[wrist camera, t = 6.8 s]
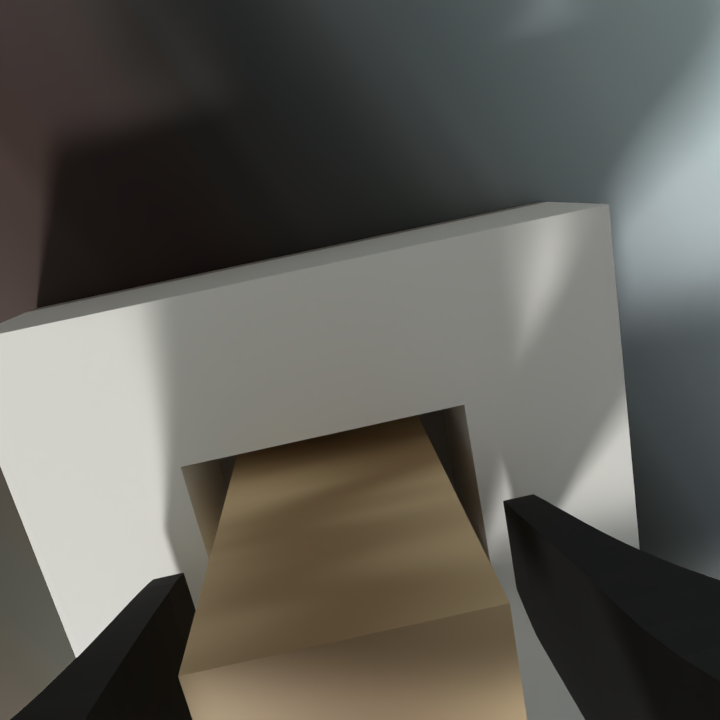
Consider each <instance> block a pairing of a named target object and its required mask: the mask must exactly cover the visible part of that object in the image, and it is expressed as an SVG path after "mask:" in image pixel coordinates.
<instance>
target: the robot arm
mask: <svg viewBox="0 0 720 720" xmlns="http://www.w3.org/2000/svg"><path fill="white" fill-rule="evenodd" d="M503 504H504V511H505V517H506V524H507V530H508V537H509V543H510V550H511V556H512V563H513V569H514V576H515V582H516V589H517V591H518V594H519V596H520V599H521V601H522V603H523V606H524V608H525V611H526V613H527V615H528V618H529V620H530V622H531V625H532V627H533V629H534V631H535V634H536V636H537V638H538V639H539V641H540V643H541V645H542V646H543V648H544V650H545V652H546V653H547V655H548V657H549V659H550V660H551V662H552V664H553V665H554V667H555V669H556V671H557V672H558V674H559V676H560V678H561V679H562V681H563V683H564V684H565V686H566V688H567V690H568V691H569V693H570V695H571V696H572V698H573V700H574V702H575V703H576V705H577V707H578V708H579V710H580V712H581V714H582V715H583V717H584V719H585V720H720V580H717V579H714V578H711V577H708V576H705V575H702V574H700V573H697V572H694V571H691V570H688V569H686V568H683V567H680V566H677V565H675V564H672V563H669V562H667V561H664V560H662V559H660V558H657V557H655V556H653V555H650V554H648V553H646V552H644V551H641V550H639V549H637V548H635V547H632V546H630V545H628V544H626V543H624V542H622V541H620V540H618V539H616V538H614V537H612V536H610V535H608V534H606V533H604V532H602V531H600V530H598V529H596V528H594V527H592V526H590V525H588V524H587V523H585V522H583V521H581V520H579V519H577V518H576V517H574V516H572V515H570V514H568V513H567V512H565V511H563V510H561V509H560V508H558V507H556V506H554V505H553V504H551V503H549V502H547V501H545V500H544V499H542V498H540V497H538V496H536V495H534V494H532V495H527V496H523V497H518V498H514V499H509V500H505V501H503ZM195 611H196V609H195V606H194V603H193V600H192V597H191V594H190V591H189V588H188V584H187V581H186V578H185V575H184V573H179V574H175V575H170V576H166V577H161V578H157V579H153V580H152V581H151V582H149V583H148V584H147V585H146V586H145V587H144V588H143V589H142V590H141V591H140V592H139V593H138V594H137V595H136V596H135V597H134V598H133V599H132V600H131V601H130V602H129V604H128V605H127V606H126V607H125V608H124V609H123V610H122V611H121V612H120V613H119V614H118V615H117V616H116V617H115V618H114V620H113V621H112V622H111V623H110V624H109V625H108V626H107V627H106V628H105V629H104V630H103V631H102V632H101V633H100V634H99V635H98V636H97V637H96V638H95V640H94V641H93V642H92V643H91V644H90V645H89V646H88V647H87V648H86V649H85V650H84V651H83V652H82V653H81V654H80V655H79V656H78V657H77V658H76V659H75V660H74V661H73V662H72V663H71V664H70V665H69V666H68V667H67V668H66V669H65V670H64V671H63V672H62V673H61V674H60V675H59V676H57V677H56V678H55V679H54V680H53V681H52V682H51V683H50V684H49V685H48V686H47V687H46V688H45V689H44V690H43V691H42V692H41V693H40V694H39V695H38V696H37V697H36V698H34V699H33V700H32V701H31V702H30V703H29V704H28V705H27V706H26V707H24V708H23V709H22V710H21V711H20V712H19V713H18V714H17V715H15V716H14V717H13V718H12V719H11V720H192V717H191V714H190V711H189V708H188V705H187V702H186V699H185V696H184V693H183V690H182V687H181V684H180V681H179V678H178V675H179V671H180V667H181V664H182V660H183V656H184V652H185V649H186V645H187V641H188V637H189V634H190V630H191V626H192V622H193V619H194V615H195Z"/></svg>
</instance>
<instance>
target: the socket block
mask: <svg viewBox="0 0 720 720" xmlns="http://www.w3.org/2000/svg"><path fill="white" fill-rule="evenodd" d="M415 415H418V417H419V420H420V422H421V424H422V426H423V428H424V430H425V432H426V434H427V436H428V438H429V440H430V442H431V444H432V446H433V448H434V450H435V452H436V454H437V456H438V458H439V460H440V462H441V464H442V466H443V468H444V470H445V472H446V474H447V476H448V478H449V480H450V483H451V485H452V487H453V489H454V491H455V493H456V495H457V497H458V499H459V501H460V503H461V505H462V507H463V509H464V511H465V513H466V515H467V517H468V519H469V521H470V523H471V525H472V527H473V529H474V531H475V533H476V535H477V537H478V539H479V541H480V543H481V545H482V548H483V550H484V552H485V554H486V556H487V558H488V560H489V562H490V564H491V566H492V568H493V570H494V572H495V574H496V576H497V578H498V580H499V582H500V584H501V586H502V588H503V590H504V592H505V594H506V596H507V598H508V600H509V602H510V608H511V614H512V621H513V628H514V635H515V641H516V648H517V655H518V662H519V668H520V675H521V682H522V689H523V695H524V702H525V709H526V716H527V720H585V719H584V717H583V715H582V714H581V712H580V710H579V708H578V707H577V705H576V703H575V702H574V700H573V698H572V696H571V695H570V693H569V691H568V690H567V688H566V686H565V684H564V683H563V681H562V679H561V678H560V676H559V674H558V672H557V671H556V669H555V667H554V665H553V664H552V662H551V660H550V659H549V657H548V655H547V653H546V652H545V650H544V648H543V646H542V645H541V643H540V641H539V639H538V638H537V636H536V634H535V631H534V629H533V627H532V625H531V622H530V620H529V618H528V615H527V613H526V611H525V608H524V606H523V603H522V601H521V599H520V596H519V594H518V591H517V589H516V582H515V576H514V569H513V563H512V556H511V550H510V543H509V537H508V530H507V524H506V517H505V511H504V504H503V501H505V500H509V499H514V498H518V497H523V496H527V495H532V494H534V495H536V496H538V497H540V498H542V499H544V500H545V501H547V502H549V503H551V504H553V505H554V506H556V507H558V508H560V509H561V510H563V511H565V512H567V513H568V514H570V515H572V516H574V517H576V518H577V519H579V520H581V521H583V522H585V523H587V524H588V525H590V526H592V527H594V528H596V529H598V530H600V531H602V532H604V533H606V534H608V535H610V536H612V537H614V538H616V539H618V540H620V541H622V542H624V543H626V544H628V545H630V546H632V547H635V548H637V549H639V550H640V548H639V537H638V526H637V514H636V503H635V492H634V480H633V469H632V458H631V447H630V435H629V424H628V413H627V401H626V390H625V379H624V368H623V356H622V345H621V334H620V322H619V311H618V300H617V288H616V277H615V266H614V255H613V243H612V232H611V221H610V209H609V204H592V203H566V202H535V203H530V204H526V205H521V206H516V207H511V208H507V209H502V210H497V211H493V212H488V213H483V214H478V215H474V216H469V217H464V218H460V219H455V220H450V221H445V222H441V223H436V224H431V225H427V226H422V227H417V228H412V229H408V230H403V231H398V232H394V233H389V234H384V235H379V236H375V237H370V238H365V239H361V240H356V241H351V242H346V243H342V244H337V245H332V246H327V247H323V248H318V249H313V250H309V251H304V252H299V253H294V254H290V255H285V256H280V257H276V258H271V259H266V260H261V261H257V262H252V263H247V264H243V265H238V266H233V267H228V268H224V269H219V270H214V271H210V272H205V273H200V274H195V275H191V276H186V277H181V278H177V279H172V280H167V281H162V282H158V283H153V284H148V285H144V286H139V287H134V288H129V289H125V290H120V291H115V292H111V293H106V294H101V295H96V296H92V297H87V298H82V299H78V300H73V301H68V302H63V303H59V304H54V305H49V306H45V307H40V308H35V309H33V310H31V311H28V312H26V313H24V314H21V315H19V316H17V317H14V318H12V319H9V320H7V321H5V322H2V323H0V467H1V469H2V472H3V474H4V477H5V479H6V482H7V484H8V487H9V489H10V492H11V494H12V497H13V499H14V502H15V505H16V507H17V510H18V512H19V515H20V517H21V520H22V522H23V525H24V527H25V530H26V532H27V535H28V538H29V540H30V543H31V545H32V548H33V550H34V553H35V555H36V558H37V560H38V563H39V565H40V568H41V570H42V573H43V576H44V578H45V581H46V583H47V586H48V588H49V591H50V593H51V596H52V598H53V601H54V603H55V606H56V608H57V611H58V614H59V616H60V619H61V621H62V624H63V626H64V629H65V631H66V634H67V636H68V639H69V641H70V644H71V646H72V649H73V652H74V654H75V657H76V658H77V657H78V656H79V655H80V654H81V653H82V652H83V651H84V650H85V649H86V648H87V647H88V646H89V645H90V644H91V643H92V642H93V641H94V640H95V638H96V637H97V636H98V635H99V634H100V633H101V632H102V631H103V630H104V629H105V628H106V627H107V626H108V625H109V624H110V623H111V622H112V621H113V620H114V618H115V617H116V616H117V615H118V614H119V613H120V612H121V611H122V610H123V609H124V608H125V607H126V606H127V605H128V604H129V602H130V601H131V600H132V599H133V598H134V597H135V596H136V595H137V594H138V593H139V592H140V591H141V590H142V589H143V588H144V587H145V586H146V585H147V584H148V583H149V582H151V581H152V580H153V579H157V578H161V577H166V576H170V575H175V574H179V573H184V575H185V578H186V581H187V584H188V588H189V591H190V594H191V597H192V600H193V603H194V606H195V609H196V608H197V604H198V600H199V596H200V593H201V589H202V585H203V581H204V578H205V574H206V570H207V566H208V563H209V559H210V555H211V551H212V548H213V544H214V540H215V536H216V533H217V529H218V525H219V521H220V518H221V514H222V510H223V506H224V503H225V499H226V495H227V491H228V488H229V484H230V480H231V476H232V473H233V469H234V465H235V461H236V458H237V454H242V453H247V452H251V451H256V450H260V449H265V448H269V447H274V446H278V445H283V444H287V443H292V442H297V441H301V440H306V439H310V438H315V437H319V436H324V435H328V434H333V433H338V432H342V431H347V430H351V429H356V428H360V427H365V426H369V425H374V424H378V423H383V422H388V421H392V420H397V419H401V418H406V417H410V416H415Z"/></svg>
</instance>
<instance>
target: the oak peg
mask: <svg viewBox="0 0 720 720" xmlns="http://www.w3.org/2000/svg"><path fill="white" fill-rule="evenodd" d="M178 678H179V681H180V684H181V687H182V690H183V693H184V696H185V699H186V702H187V705H188V708H189V711H190V714H191V717H192V720H527V716H526V709H525V702H524V695H523V689H522V682H521V675H520V668H519V662H518V655H517V648H516V641H515V635H514V628H513V621H512V614H511V608H510V602H509V600H508V598H507V596H506V594H505V592H504V590H503V588H502V586H501V584H500V582H499V580H498V578H497V576H496V574H495V572H494V570H493V568H492V566H491V564H490V562H489V560H488V558H487V556H486V554H485V552H484V550H483V548H482V545H481V543H480V541H479V539H478V537H477V535H476V533H475V531H474V529H473V527H472V525H471V523H470V521H469V519H468V517H467V515H466V513H465V511H464V509H463V507H462V505H461V503H460V501H459V499H458V497H457V495H456V493H455V491H454V489H453V487H452V485H451V483H450V480H449V478H448V476H447V474H446V472H445V470H444V468H443V466H442V464H441V462H440V460H439V458H438V456H437V454H436V452H435V450H434V448H433V446H432V444H431V442H430V440H429V438H428V436H427V434H426V432H425V430H424V428H423V426H422V424H421V422H420V420H419V417H418V415H415V416H410V417H406V418H401V419H397V420H392V421H388V422H383V423H378V424H374V425H369V426H365V427H360V428H356V429H351V430H347V431H342V432H338V433H333V434H328V435H324V436H319V437H315V438H310V439H306V440H301V441H297V442H292V443H287V444H283V445H278V446H274V447H269V448H265V449H260V450H256V451H251V452H247V453H242V454H237V458H236V461H235V465H234V469H233V473H232V476H231V480H230V484H229V488H228V491H227V495H226V499H225V503H224V506H223V510H222V514H221V518H220V521H219V525H218V529H217V533H216V536H215V540H214V544H213V548H212V551H211V555H210V559H209V563H208V566H207V570H206V574H205V578H204V581H203V585H202V589H201V593H200V596H199V600H198V604H197V608H196V611H195V615H194V619H193V622H192V626H191V630H190V634H189V637H188V641H187V645H186V649H185V652H184V656H183V660H182V664H181V667H180V671H179V675H178Z"/></svg>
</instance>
